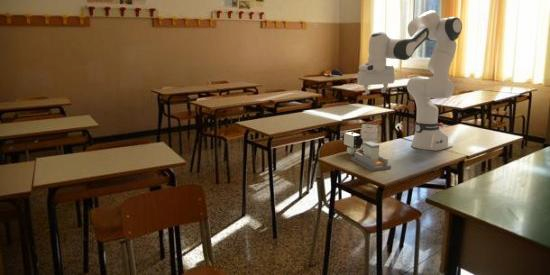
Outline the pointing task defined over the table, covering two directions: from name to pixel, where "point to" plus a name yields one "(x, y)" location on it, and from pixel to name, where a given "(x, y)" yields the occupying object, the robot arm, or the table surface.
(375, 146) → the module block
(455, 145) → the table surface
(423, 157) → the table surface
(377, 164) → the brown flat bar
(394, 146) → the table surface
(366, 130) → the ink cartridge box
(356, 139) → the pneumatic valve
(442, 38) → the robot arm
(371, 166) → the channel rail
